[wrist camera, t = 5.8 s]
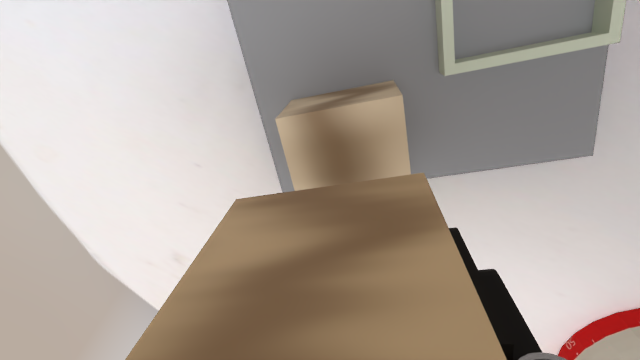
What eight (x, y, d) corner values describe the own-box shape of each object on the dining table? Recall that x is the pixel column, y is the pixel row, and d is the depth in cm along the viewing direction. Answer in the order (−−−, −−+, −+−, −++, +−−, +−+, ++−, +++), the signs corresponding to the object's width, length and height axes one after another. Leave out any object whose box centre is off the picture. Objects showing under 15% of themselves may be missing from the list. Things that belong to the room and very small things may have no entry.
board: (624, -193, 16) (643, -208, 15) (581, 149, 23) (592, 155, 22) (214, -66, 20) (206, -71, 19) (287, 191, 27) (284, 198, 26)
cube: (423, 172, 10) (506, 360, 4) (436, 318, 12) (500, 555, 7) (235, 199, 11) (114, 375, 5) (282, 328, 13) (229, 538, 8)
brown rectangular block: (393, 80, 21) (402, 95, 17) (404, 175, 24) (414, 210, 20) (291, 100, 23) (275, 119, 18) (313, 188, 26) (303, 223, 21)
